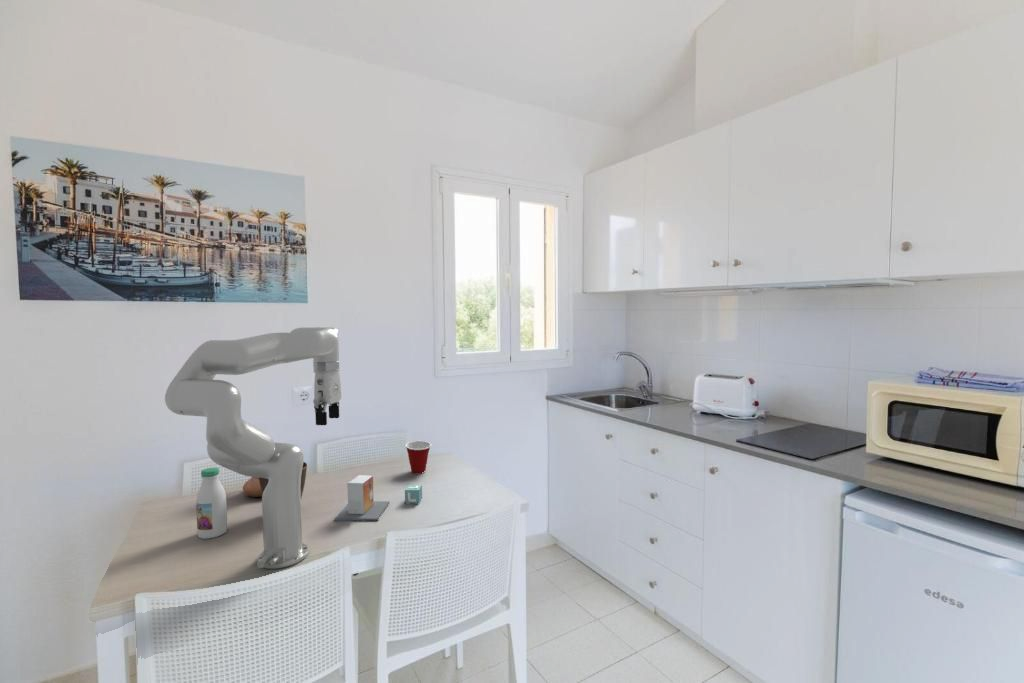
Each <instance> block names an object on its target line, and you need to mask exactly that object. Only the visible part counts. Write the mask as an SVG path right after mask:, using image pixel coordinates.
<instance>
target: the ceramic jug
mask: <svg viewBox="0 0 1024 683" xmlns="http://www.w3.org/2000/svg"><path fill="white" fill-rule="evenodd" d="M242 491H243V493H244V494H245V495H246V496H249V497H254V498H262V495H263V493H262V490H261V487H260V483H259V478H258V477H250V478H249V479H248V480H246V481H245V483H244V484H243V486H242Z"/></svg>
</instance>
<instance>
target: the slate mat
mask: <svg viewBox="0 0 1024 683" xmlns="http://www.w3.org/2000/svg"><path fill="white" fill-rule="evenodd" d="M373 501H374V500H373ZM389 503H390V501H386V500H385V501H381V500H380V501H379V500H378V501H376V500H375V501H374V505H373V506H372V507H371V508H370V509H369V510H368V511H366V512H365V513H364V514H349V513H348V503H347V504H346V505H345V506H344V508H342V510H341V511H340V512H339V513H338V514H337V515H336V516H335V518H334V521H335V522H350V521H349V520H378V519H379V520H380V518H381V517H382V515H383V514H384V512H385V511H386V510H385V509H387V508H388V507H389V505H390V504H389ZM388 504H389V505H388ZM387 506H388V507H387ZM386 507H387V508H386ZM384 510H385V511H384ZM383 511H384V512H383ZM382 513H383V514H382ZM381 514H382V515H381ZM380 516H381V517H380ZM379 517H380V518H379ZM379 520H378V521H379Z"/></svg>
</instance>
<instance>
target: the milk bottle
mask: <svg viewBox="0 0 1024 683" xmlns="http://www.w3.org/2000/svg"><path fill="white" fill-rule="evenodd" d="M200 476H201V479H202V480H201V485H200V487H199V490H198V491H197V495H196V505H195V506H196V529H197V530H196V531H197V536H198V538H199V539H205V540H207V539H212V538H217V537H221V536H222V535H224V534H225V533H226V532H227V531H228V508H227V495H226V491H225V490H226V489H225V487H224V486H223V485H222V483H221V481H220V479H219V478H220V477H219V476H220V469H219V467H208V468H207V467H206V468H204V469H202V470H201V473H200Z"/></svg>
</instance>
